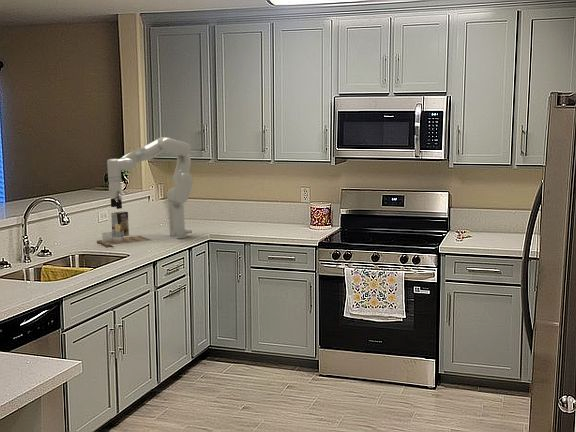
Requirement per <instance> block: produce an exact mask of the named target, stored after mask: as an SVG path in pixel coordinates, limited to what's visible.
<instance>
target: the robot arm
mask: <svg viewBox="0 0 576 432" xmlns="http://www.w3.org/2000/svg"><path fill="white" fill-rule="evenodd" d="M191 151H192V149H191V145H190V144H189V143H187V142H185V141H181V140H178V139H174V138H172V137H167V136H166V137H165V136H161V137H158V138H156V139H154V140H153V141H151V142H149V143H147V144H146V145H144V146H142V147H139V148H138V149H135V150H133V151H130V152H129V153H127V154H124V155H123V156H122V157H120V158H109V159H107V161H106V162H107V164H106V165H107V177H108V178H107V180H108V197H109V198H110V207H111V208H116V209H117V210H119V209H122V208H123V203H122V202H123V201H122V185H121V182H122V173H121V172H122V171H128V172H129V171H131V170H133V169H134V167H135V164H137V163H140V162H144V161H148V160H150V159H153V158H155V157H156V156H158V155H160V154H161V153H163V152H167V153H171V154H174V155H175V158H176V166H175V170H174V174H173V177H172V182H173V183H174V184H175V185H176V186H175V187H173V186H172V187H171V188H169V190H168V191H167V194H166V198H167V199H166V200H167V204H168V205H167V207H168V220H169V221H168V224H169V234H168V235H167V236H168V237H170V238H174V239H186V238H188V234H192V233H193V230H192V229H185V226H186V223H185V207H184V206H185V205H184V204H185V203H186V202H187V201H188V200H189V196H190V193H191V189H192V187H193V186H192V185H193V175H192V173H190V169H191V163H192V161H191V160H192V159H191V155H190V153H191Z"/></svg>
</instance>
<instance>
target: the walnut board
mask: <svg viewBox="0 0 576 432" xmlns="http://www.w3.org/2000/svg"><path fill="white" fill-rule="evenodd" d="M145 241H152V238H151V239H150V238H147V237H145V236H142V235H134V236H128V237H127V236H124V241H122V242H106V243H103V241H102V239H99V240H96V244H98V245H100V244H101V246H102V245H103V246H102V247H104V248H114V246H115V245H118V244H127V243H128V244H129V243H138V242H145Z"/></svg>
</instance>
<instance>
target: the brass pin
mask: <svg viewBox="0 0 576 432" xmlns="http://www.w3.org/2000/svg"><path fill="white" fill-rule="evenodd" d="M115 232H120V224H116V225H115Z"/></svg>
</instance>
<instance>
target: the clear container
mask: <svg viewBox="0 0 576 432" xmlns="http://www.w3.org/2000/svg"><path fill="white" fill-rule="evenodd" d="M124 237H125V236H124V231H122V230H120V232H115V230H114V229H112V228H111V231H107V232H102V233H101V240H102V241H103V243H106V242H122V241H124Z"/></svg>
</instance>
